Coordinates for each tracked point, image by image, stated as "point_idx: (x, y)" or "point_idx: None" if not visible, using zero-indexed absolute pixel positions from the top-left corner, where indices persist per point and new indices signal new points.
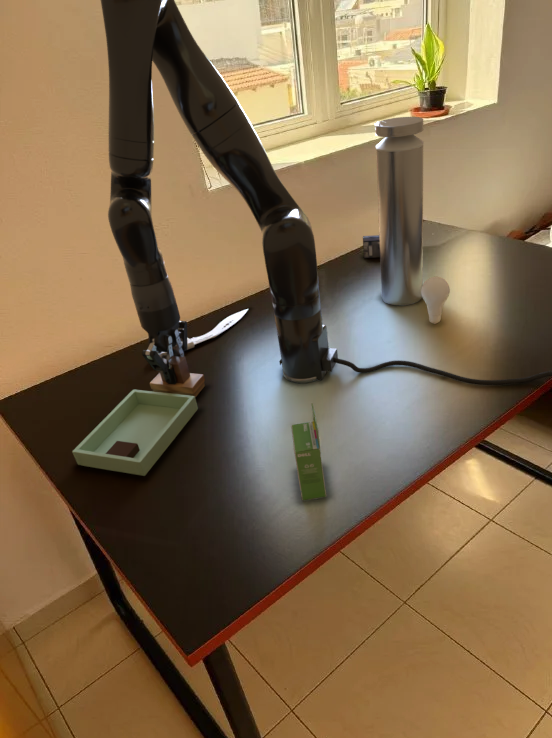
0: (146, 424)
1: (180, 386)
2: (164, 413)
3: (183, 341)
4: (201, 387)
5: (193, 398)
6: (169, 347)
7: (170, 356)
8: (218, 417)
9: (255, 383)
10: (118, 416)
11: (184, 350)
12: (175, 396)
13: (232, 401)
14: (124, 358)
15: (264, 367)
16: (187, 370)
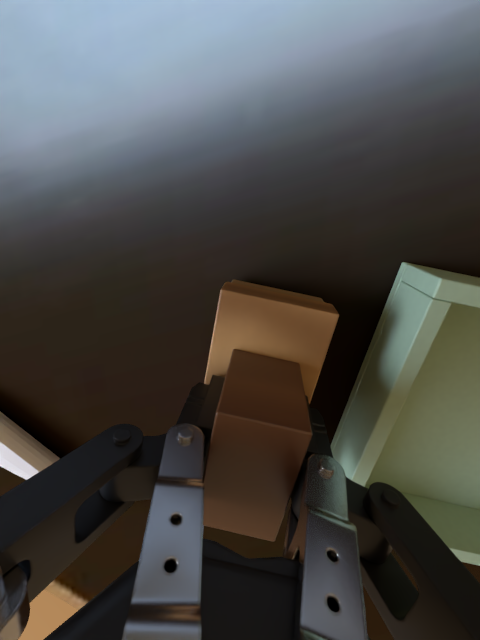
0: (470, 427)
1: (319, 370)
2: (413, 386)
3: (96, 483)
4: (259, 288)
5: (454, 280)
6: (348, 622)
7: (351, 532)
8: (474, 152)
9: (198, 18)
10: (452, 525)
11: (4, 416)
12: (418, 371)
13: (350, 113)
14: (79, 556)
15: (48, 5)
16: (243, 369)
